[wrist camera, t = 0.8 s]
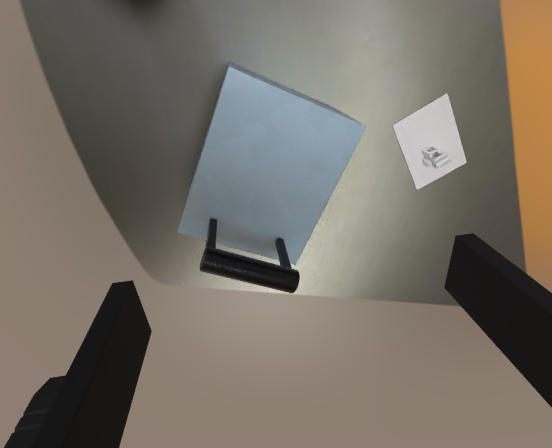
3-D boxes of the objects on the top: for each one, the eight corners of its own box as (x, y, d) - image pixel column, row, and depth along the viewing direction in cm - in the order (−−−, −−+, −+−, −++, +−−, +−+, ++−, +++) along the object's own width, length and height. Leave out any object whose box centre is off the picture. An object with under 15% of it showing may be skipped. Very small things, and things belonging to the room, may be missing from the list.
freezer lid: (294, 260, 36) (310, 315, 29) (178, 228, 32) (162, 281, 25) (363, 124, 30) (407, 149, 22) (228, 65, 26) (228, 73, 19)
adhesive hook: (424, 167, 42) (437, 175, 40) (418, 150, 41) (431, 158, 38) (446, 154, 42) (461, 162, 39) (440, 137, 41) (455, 144, 38)
